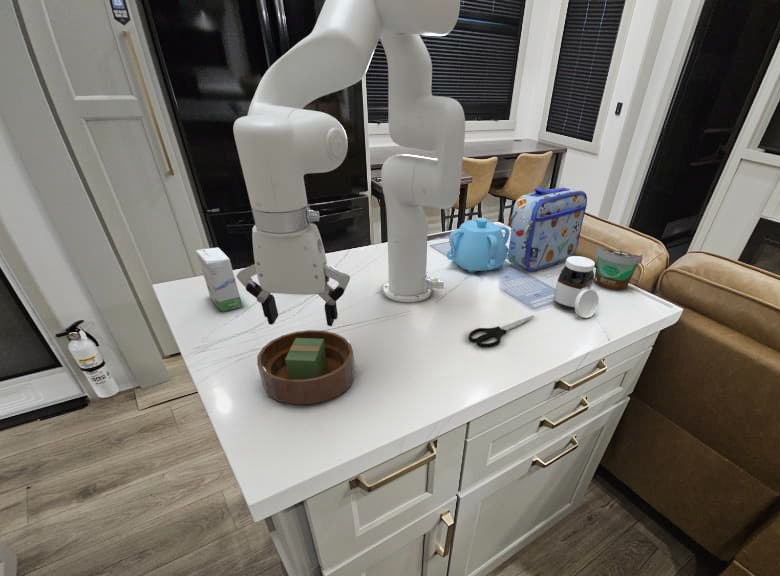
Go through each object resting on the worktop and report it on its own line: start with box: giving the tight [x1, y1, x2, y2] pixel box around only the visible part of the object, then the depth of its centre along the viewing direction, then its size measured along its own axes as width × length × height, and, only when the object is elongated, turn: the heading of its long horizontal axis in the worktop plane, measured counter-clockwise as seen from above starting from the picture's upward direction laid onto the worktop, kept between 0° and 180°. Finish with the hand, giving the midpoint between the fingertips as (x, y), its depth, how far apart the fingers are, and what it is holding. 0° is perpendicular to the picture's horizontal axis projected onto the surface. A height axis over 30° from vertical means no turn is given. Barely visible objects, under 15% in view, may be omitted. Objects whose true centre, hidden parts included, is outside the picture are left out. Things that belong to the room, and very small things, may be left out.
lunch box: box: [507, 187, 588, 272], centre depth 123 cm, size 28×10×22 cm, turn 133°
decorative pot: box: [446, 217, 511, 274], centre depth 121 cm, size 16×16×14 cm
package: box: [285, 338, 327, 380], centre depth 75 cm, size 5×7×6 cm
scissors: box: [467, 315, 534, 349], centre depth 95 cm, size 7×1×20 cm
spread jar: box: [553, 255, 600, 319], centre depth 103 cm, size 12×11×12 cm
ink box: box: [195, 247, 244, 313], centre depth 94 cm, size 8×5×12 cm, turn 39°
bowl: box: [256, 329, 356, 405], centre depth 76 cm, size 16×16×6 cm
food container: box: [593, 245, 644, 291], centre depth 115 cm, size 12×6×10 cm, turn 68°
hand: (302, 321), depth 71 cm, fingers open, 9 cm apart
